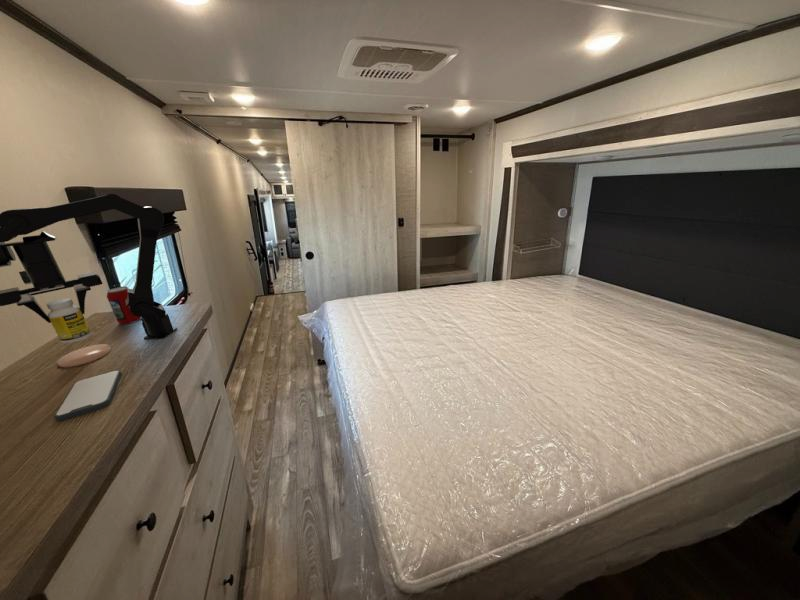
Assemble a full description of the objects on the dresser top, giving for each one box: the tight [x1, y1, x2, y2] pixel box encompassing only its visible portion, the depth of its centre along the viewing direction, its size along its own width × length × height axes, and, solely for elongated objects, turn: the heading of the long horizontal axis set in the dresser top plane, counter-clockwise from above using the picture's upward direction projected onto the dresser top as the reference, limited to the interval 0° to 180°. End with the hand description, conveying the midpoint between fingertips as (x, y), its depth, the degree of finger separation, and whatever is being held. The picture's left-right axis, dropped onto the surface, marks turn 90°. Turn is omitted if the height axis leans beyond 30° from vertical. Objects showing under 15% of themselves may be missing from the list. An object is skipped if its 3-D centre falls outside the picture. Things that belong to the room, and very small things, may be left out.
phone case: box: [53, 369, 122, 423], centre depth 71 cm, size 9×2×16 cm
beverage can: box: [106, 286, 142, 325], centre depth 109 cm, size 7×7×12 cm
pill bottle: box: [46, 297, 92, 344], centre depth 85 cm, size 6×6×11 cm
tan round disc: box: [56, 343, 112, 368], centre depth 89 cm, size 11×11×1 cm
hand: (67, 317), depth 84 cm, fingers closed on pill bottle, 6 cm apart
